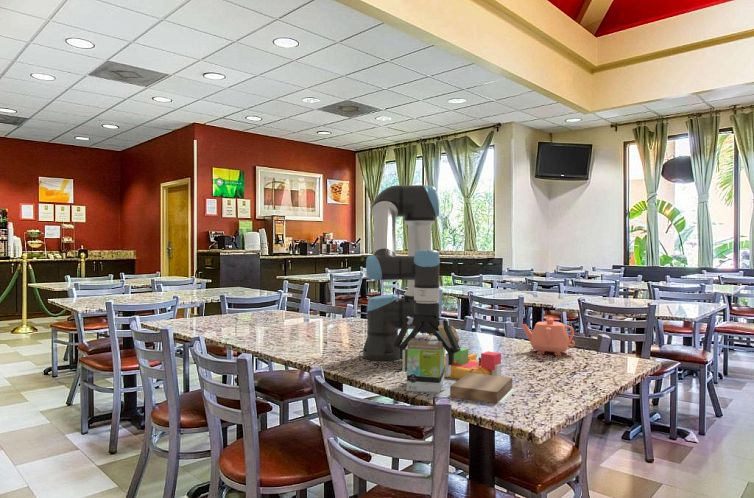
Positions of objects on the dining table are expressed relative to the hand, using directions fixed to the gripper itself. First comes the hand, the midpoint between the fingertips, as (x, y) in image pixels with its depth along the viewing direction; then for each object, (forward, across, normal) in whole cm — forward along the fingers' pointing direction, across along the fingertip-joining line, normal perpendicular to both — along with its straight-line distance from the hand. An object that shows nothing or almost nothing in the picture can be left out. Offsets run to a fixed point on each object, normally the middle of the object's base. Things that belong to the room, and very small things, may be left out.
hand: (426, 373), depth 158 cm
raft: (+5, +2, +19) cm, 20 cm away
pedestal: (+4, +17, 0) cm, 17 cm away
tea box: (+4, 0, 0) cm, 5 cm away
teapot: (+4, +23, +72) cm, 75 cm away
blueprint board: (+4, +16, 0) cm, 16 cm away
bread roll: (+4, -20, +70) cm, 73 cm away
